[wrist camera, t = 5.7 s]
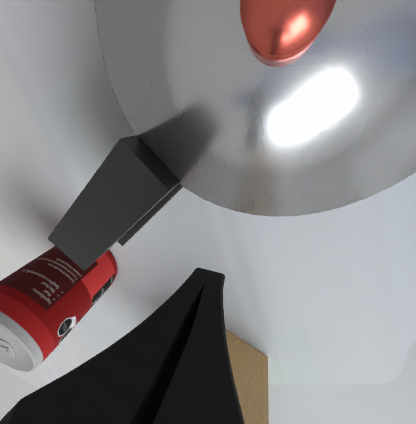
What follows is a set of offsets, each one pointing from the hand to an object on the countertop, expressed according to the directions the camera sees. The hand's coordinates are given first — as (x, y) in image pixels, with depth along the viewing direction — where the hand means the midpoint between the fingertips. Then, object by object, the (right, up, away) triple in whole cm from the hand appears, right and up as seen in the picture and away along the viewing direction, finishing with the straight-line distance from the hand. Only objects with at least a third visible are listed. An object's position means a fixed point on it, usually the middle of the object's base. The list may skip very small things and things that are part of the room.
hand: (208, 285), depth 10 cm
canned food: (-15, -2, +17) cm, 22 cm away
